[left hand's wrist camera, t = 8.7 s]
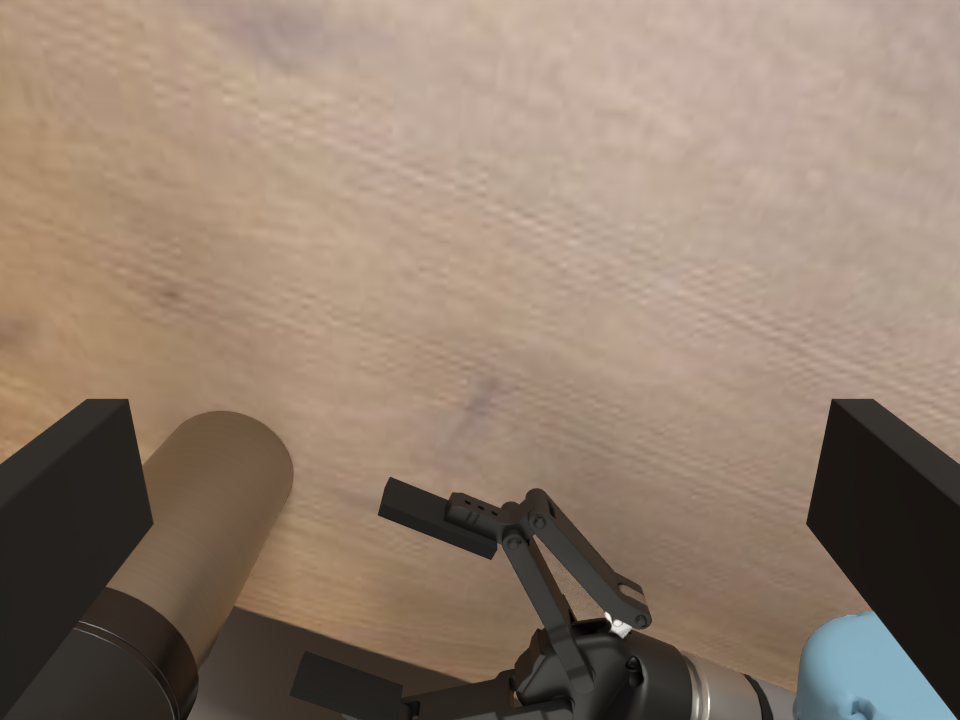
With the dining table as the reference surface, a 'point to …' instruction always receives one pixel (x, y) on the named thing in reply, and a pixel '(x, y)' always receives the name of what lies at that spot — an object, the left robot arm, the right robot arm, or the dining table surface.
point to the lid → (114, 668)
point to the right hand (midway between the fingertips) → (337, 588)
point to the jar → (206, 521)
